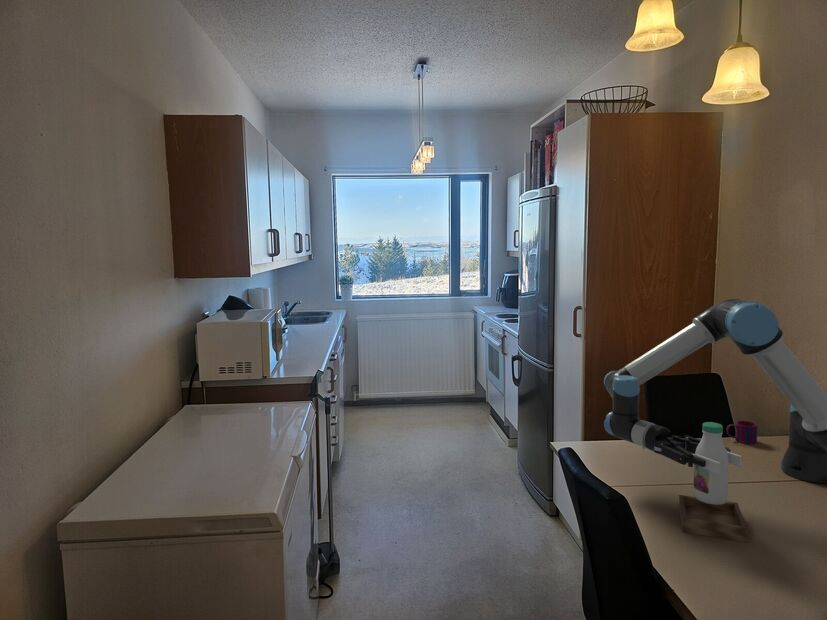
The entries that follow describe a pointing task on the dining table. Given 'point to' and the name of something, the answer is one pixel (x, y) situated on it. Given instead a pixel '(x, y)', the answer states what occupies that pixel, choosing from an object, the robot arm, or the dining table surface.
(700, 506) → the walnut tray
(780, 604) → the dining table surface
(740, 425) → the mug
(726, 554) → the dining table surface
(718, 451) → the milk bottle
